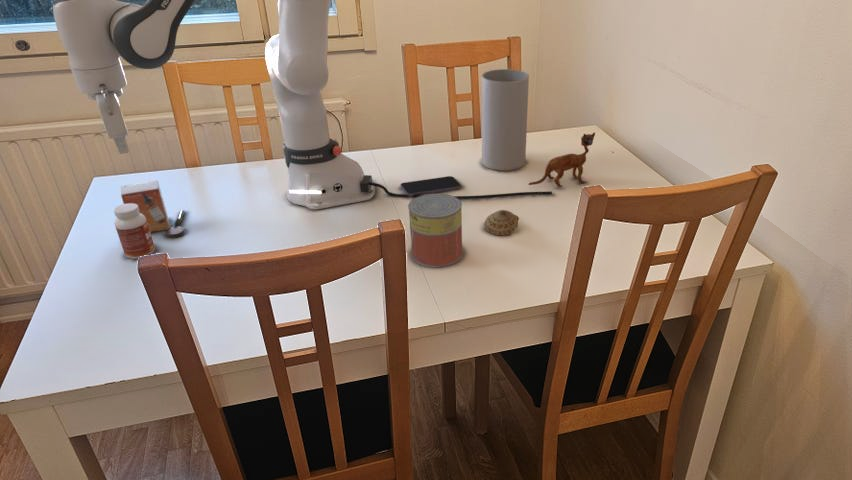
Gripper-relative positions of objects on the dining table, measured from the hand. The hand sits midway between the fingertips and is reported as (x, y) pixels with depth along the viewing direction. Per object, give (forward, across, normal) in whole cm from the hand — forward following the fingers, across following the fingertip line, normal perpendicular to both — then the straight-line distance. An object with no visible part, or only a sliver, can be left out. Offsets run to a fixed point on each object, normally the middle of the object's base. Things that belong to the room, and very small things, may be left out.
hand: (121, 144), depth 136 cm
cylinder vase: (+24, -2, -93) cm, 96 cm away
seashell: (+24, -35, -73) cm, 84 cm away
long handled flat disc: (+23, +5, -6) cm, 24 cm away
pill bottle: (+23, -5, +3) cm, 24 cm away
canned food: (+24, -38, -54) cm, 70 cm away
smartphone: (+24, -7, -68) cm, 72 cm away
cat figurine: (+24, -22, -98) cm, 104 cm away
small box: (+23, +6, 0) cm, 24 cm away
